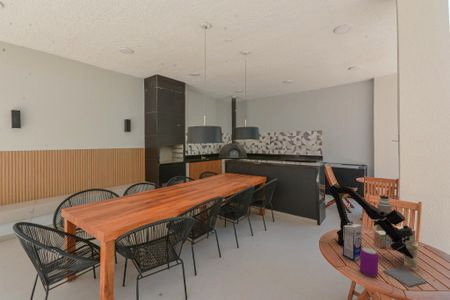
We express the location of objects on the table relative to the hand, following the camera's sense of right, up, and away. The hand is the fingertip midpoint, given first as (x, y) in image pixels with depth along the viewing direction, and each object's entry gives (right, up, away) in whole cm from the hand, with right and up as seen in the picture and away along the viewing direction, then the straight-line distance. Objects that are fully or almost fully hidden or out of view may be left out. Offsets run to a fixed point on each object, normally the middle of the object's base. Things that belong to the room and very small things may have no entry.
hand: (414, 255), depth 112 cm
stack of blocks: (+8, -6, +23) cm, 25 cm away
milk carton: (-27, -7, +11) cm, 30 cm away
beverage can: (-27, -7, -4) cm, 29 cm away
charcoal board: (-12, -7, -8) cm, 16 cm away
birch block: (-1, -7, +1) cm, 7 cm away
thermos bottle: (+14, -5, +40) cm, 43 cm away
